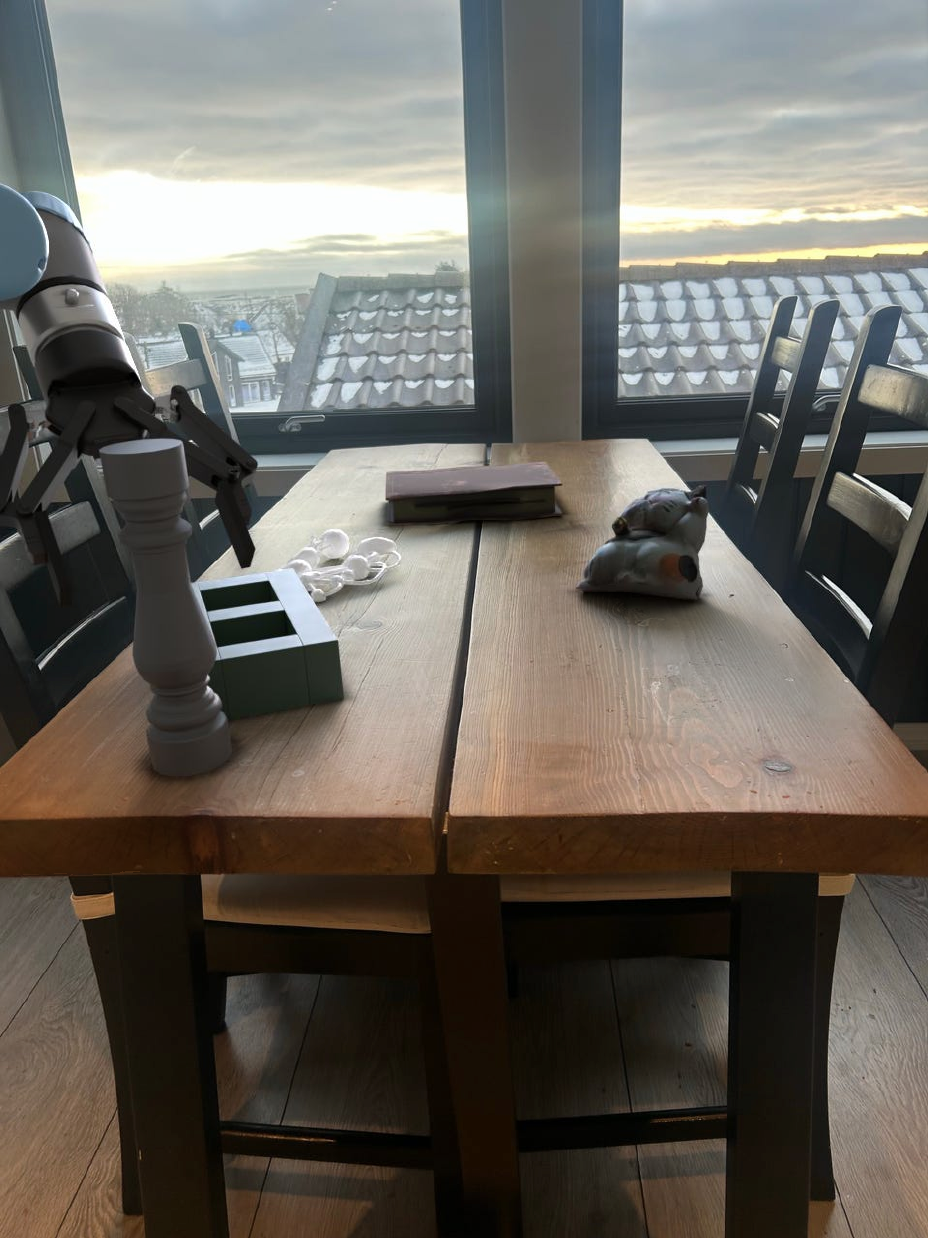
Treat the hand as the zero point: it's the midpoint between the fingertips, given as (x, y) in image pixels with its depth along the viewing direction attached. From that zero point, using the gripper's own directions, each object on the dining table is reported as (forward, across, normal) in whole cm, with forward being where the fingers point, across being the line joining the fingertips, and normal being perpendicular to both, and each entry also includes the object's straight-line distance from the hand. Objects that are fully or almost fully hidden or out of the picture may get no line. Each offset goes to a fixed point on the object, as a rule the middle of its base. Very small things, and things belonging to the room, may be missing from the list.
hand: (161, 577), depth 74 cm
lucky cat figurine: (+6, +53, +16) cm, 55 cm away
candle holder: (+11, 0, +10) cm, 15 cm away
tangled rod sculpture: (-13, +28, +35) cm, 46 cm away
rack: (+1, +10, +21) cm, 23 cm away
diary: (-26, +59, +48) cm, 81 cm away
